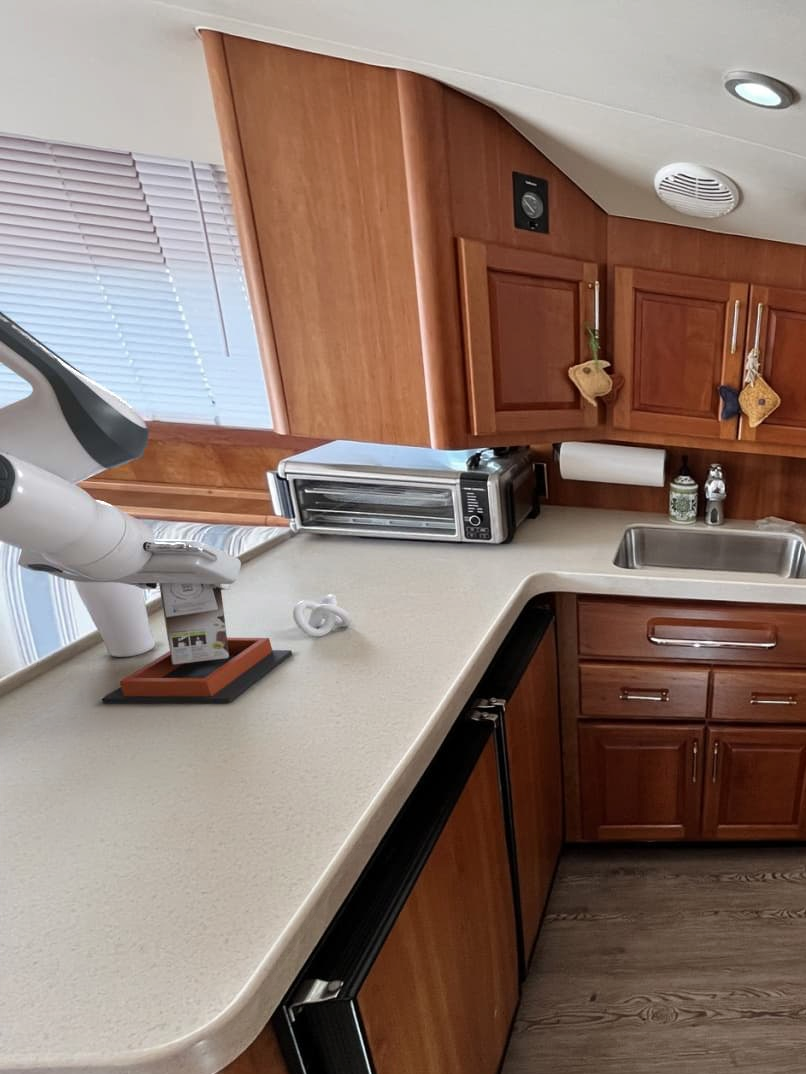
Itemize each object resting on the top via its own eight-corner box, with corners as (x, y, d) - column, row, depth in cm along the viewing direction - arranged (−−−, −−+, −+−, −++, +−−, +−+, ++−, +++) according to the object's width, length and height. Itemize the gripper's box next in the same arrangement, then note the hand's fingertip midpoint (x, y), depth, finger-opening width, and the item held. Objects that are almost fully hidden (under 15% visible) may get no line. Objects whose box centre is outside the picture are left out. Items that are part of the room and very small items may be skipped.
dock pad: (102, 703, 89) (94, 683, 88) (183, 653, 103) (177, 635, 101) (230, 703, 91) (223, 683, 90) (292, 654, 105) (288, 636, 104)
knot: (364, 621, 118) (358, 592, 115) (338, 640, 110) (331, 610, 108) (321, 619, 117) (314, 590, 115) (292, 639, 110) (284, 608, 107)
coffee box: (231, 658, 95) (217, 552, 92) (171, 666, 91) (154, 554, 87) (225, 643, 101) (212, 544, 98) (169, 650, 97) (153, 545, 93)
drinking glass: (120, 664, 98) (85, 574, 92) (92, 655, 100) (57, 566, 94) (172, 646, 104) (143, 561, 98) (145, 638, 106) (115, 553, 100)
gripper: (204, 523, 82) (272, 566, 95) (21, 519, 79) (117, 563, 92) (189, 568, 80) (261, 605, 93) (1, 565, 77) (102, 604, 90)
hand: (188, 584), depth 92 cm, fingers closed on coffee box, 8 cm apart
